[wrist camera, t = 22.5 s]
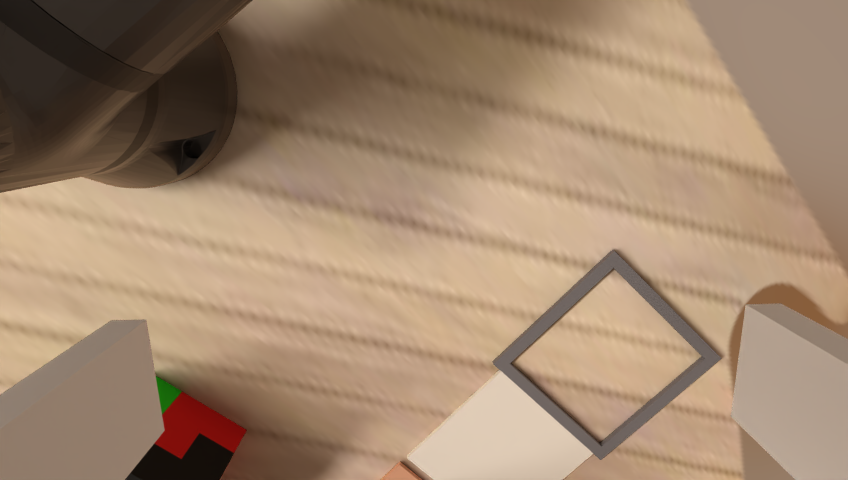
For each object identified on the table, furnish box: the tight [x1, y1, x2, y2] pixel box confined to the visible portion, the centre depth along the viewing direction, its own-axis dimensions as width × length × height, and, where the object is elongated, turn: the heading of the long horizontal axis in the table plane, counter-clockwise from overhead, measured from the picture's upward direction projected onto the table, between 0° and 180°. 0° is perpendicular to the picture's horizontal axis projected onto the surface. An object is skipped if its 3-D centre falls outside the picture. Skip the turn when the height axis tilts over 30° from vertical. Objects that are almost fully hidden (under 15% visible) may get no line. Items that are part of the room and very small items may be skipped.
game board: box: [381, 250, 721, 480], centre depth 47 cm, size 39×14×1 cm, turn 136°
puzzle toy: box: [125, 376, 246, 480], centre depth 42 cm, size 10×10×10 cm
